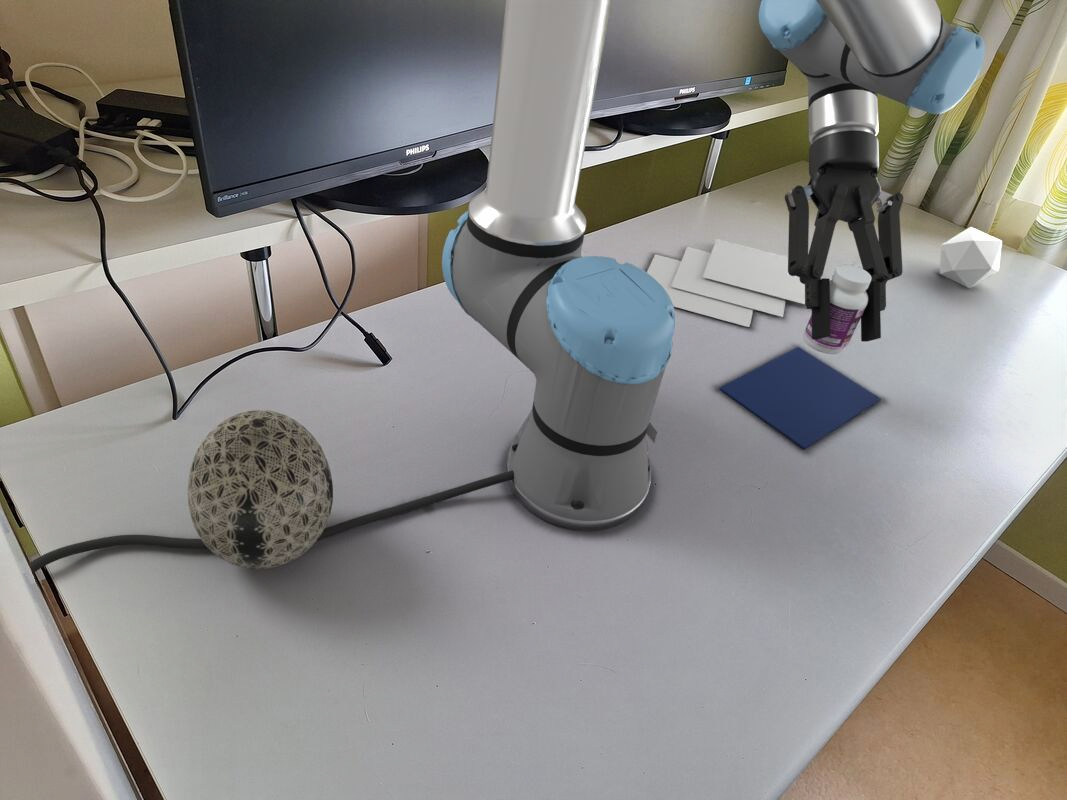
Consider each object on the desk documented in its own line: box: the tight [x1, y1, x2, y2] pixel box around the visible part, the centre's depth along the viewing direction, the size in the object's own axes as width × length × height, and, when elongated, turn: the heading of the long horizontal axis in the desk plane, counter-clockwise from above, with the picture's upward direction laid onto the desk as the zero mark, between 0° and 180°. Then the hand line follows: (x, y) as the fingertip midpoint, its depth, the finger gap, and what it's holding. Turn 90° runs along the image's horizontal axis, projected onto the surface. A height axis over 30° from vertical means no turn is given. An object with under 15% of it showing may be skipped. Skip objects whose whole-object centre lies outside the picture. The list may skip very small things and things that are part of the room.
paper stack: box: [646, 238, 805, 328], centre depth 117 cm, size 23×25×1 cm
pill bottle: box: [802, 264, 872, 355], centre depth 88 cm, size 5×5×10 cm
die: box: [939, 226, 1003, 289], centre depth 124 cm, size 8×9×10 cm
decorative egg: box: [187, 409, 334, 570], centre depth 65 cm, size 12×12×15 cm
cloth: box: [718, 346, 882, 450], centre depth 97 cm, size 17×13×1 cm
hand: (846, 338), depth 87 cm, fingers closed on pill bottle, 5 cm apart
